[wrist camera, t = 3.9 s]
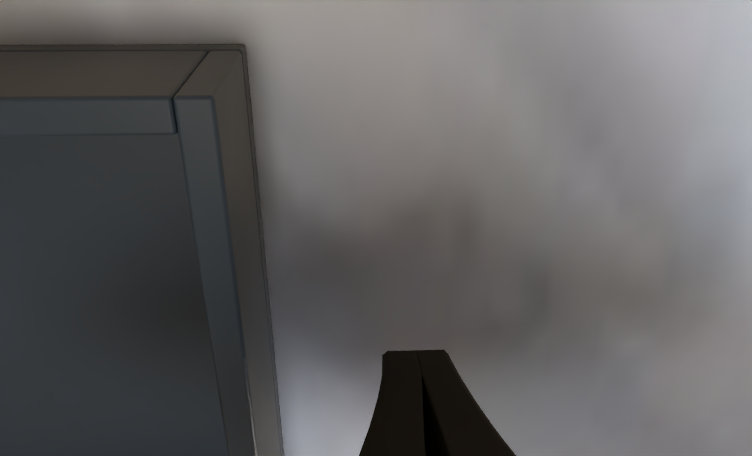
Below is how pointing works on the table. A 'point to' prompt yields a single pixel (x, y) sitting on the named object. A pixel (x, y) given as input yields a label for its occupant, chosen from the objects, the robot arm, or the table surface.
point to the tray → (132, 255)
